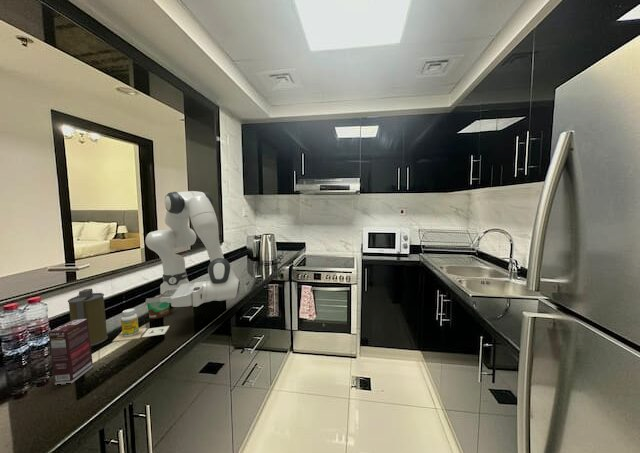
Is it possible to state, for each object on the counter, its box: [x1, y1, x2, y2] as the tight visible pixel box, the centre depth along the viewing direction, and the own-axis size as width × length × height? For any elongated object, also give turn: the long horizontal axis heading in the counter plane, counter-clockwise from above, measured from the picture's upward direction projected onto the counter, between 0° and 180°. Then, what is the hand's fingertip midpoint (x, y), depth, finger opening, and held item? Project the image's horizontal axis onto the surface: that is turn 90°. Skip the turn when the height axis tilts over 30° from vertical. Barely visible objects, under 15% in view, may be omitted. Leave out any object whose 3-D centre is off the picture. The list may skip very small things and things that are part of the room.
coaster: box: [111, 327, 148, 343], centre depth 108 cm, size 9×9×1 cm
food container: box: [145, 291, 171, 320], centre depth 128 cm, size 12×6×10 cm, turn 168°
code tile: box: [141, 325, 170, 338], centre depth 111 cm, size 8×8×1 cm
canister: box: [67, 288, 109, 347], centre depth 103 cm, size 11×10×20 cm
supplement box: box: [48, 319, 94, 386], centre depth 81 cm, size 9×5×16 cm, turn 5°
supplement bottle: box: [120, 308, 140, 337], centre depth 108 cm, size 5×5×10 cm
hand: (163, 295), depth 112 cm, fingers open, 8 cm apart
